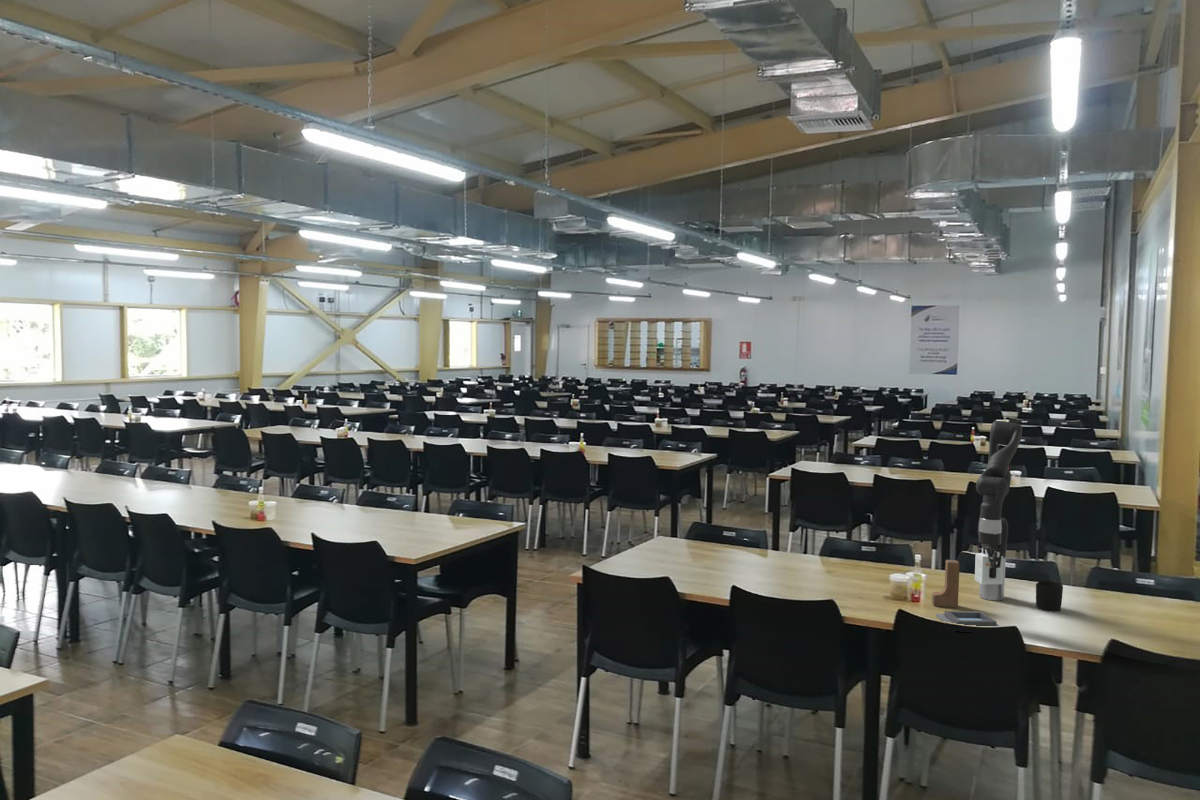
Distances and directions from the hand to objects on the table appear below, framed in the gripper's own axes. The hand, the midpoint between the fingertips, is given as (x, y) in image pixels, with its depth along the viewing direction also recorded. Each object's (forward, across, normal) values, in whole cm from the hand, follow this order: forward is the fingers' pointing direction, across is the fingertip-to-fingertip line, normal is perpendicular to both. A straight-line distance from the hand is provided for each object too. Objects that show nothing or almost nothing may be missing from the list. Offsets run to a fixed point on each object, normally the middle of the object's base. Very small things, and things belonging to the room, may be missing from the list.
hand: (988, 575), depth 312 cm
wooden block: (+18, -22, -6) cm, 29 cm away
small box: (+3, 0, 0) cm, 3 cm away
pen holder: (+18, -19, +34) cm, 43 cm away
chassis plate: (+18, 0, -7) cm, 19 cm away
